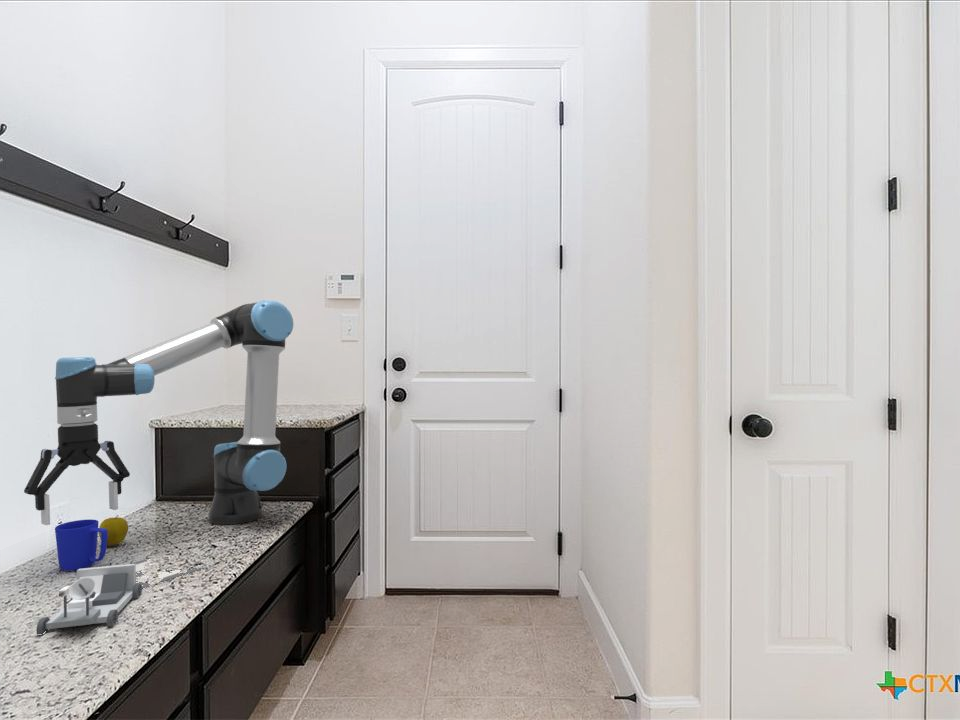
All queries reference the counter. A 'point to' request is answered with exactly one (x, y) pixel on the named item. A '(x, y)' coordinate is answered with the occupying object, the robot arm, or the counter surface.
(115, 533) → the apple
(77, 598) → the toy car
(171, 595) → the counter surface
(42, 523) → the robot arm
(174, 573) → the label panel
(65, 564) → the mug
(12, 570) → the counter surface
